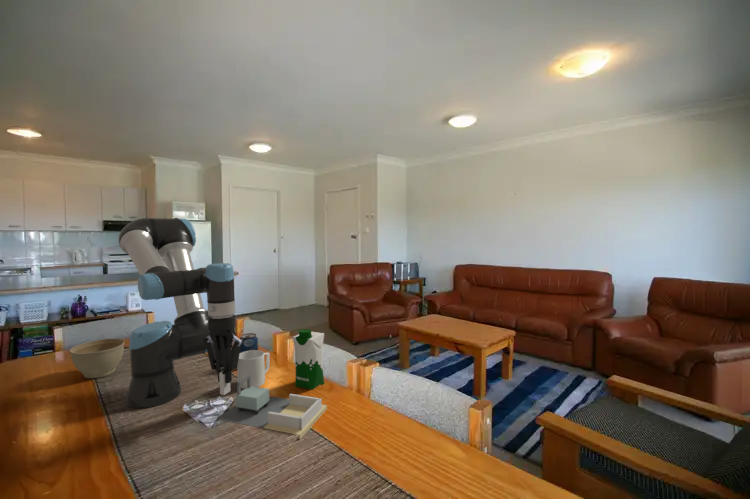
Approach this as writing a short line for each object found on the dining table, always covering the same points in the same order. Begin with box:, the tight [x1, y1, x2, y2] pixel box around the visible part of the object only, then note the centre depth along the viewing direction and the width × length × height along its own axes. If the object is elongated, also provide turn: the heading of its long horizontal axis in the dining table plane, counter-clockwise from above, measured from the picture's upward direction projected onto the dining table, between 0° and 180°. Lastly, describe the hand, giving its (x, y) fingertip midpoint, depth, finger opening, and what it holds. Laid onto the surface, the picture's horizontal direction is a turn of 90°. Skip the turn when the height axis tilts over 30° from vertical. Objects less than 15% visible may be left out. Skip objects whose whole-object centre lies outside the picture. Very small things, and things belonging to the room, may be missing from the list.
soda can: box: [239, 332, 259, 353], centre depth 142 cm, size 7×7×12 cm
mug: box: [236, 349, 271, 390], centre depth 125 cm, size 12×9×11 cm
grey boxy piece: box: [235, 375, 270, 414], centre depth 106 cm, size 7×6×9 cm
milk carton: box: [292, 328, 325, 391], centre depth 123 cm, size 9×9×20 cm
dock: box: [217, 393, 328, 440], centre depth 104 cm, size 26×16×4 cm, turn 72°
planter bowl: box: [69, 338, 125, 379], centre depth 135 cm, size 16×16×11 cm
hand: (225, 392), depth 109 cm, fingers closed
